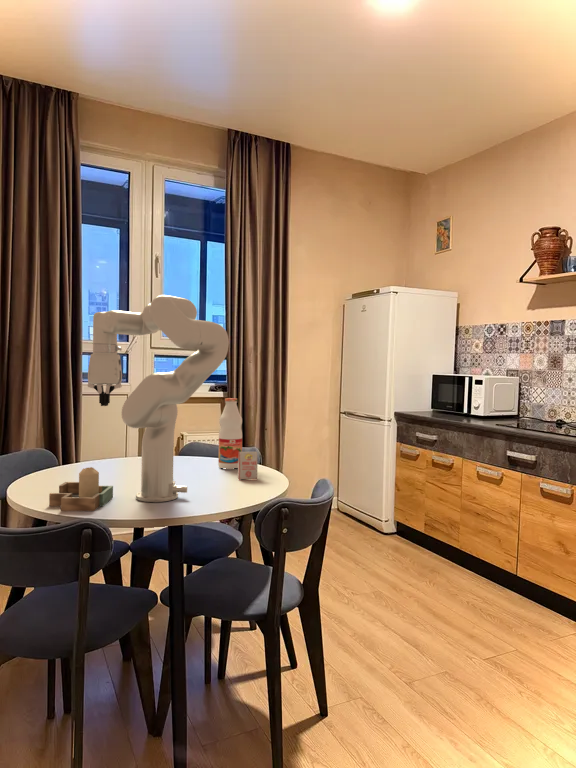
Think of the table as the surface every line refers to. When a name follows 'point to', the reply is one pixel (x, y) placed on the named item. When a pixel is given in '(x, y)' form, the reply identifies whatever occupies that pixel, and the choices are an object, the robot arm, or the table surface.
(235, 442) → the fruit juice
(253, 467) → the white red box
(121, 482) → the table surface
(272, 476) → the table surface
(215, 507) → the table surface
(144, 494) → the robot arm
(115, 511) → the table surface
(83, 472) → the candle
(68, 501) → the wooden tray
